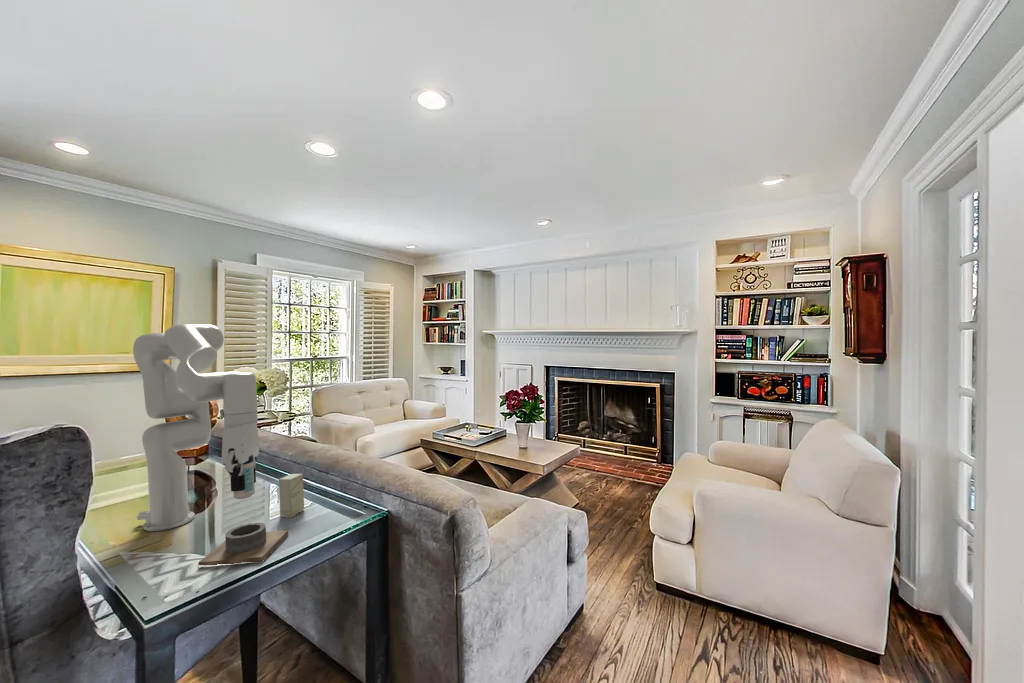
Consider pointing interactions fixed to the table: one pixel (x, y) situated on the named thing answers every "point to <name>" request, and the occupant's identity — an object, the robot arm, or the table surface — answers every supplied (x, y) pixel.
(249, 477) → the beer can
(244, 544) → the can holder
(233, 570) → the table surface
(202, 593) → the table surface
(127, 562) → the table surface
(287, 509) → the skincare box
